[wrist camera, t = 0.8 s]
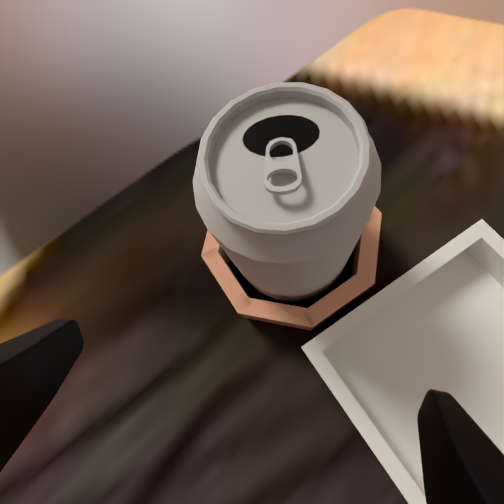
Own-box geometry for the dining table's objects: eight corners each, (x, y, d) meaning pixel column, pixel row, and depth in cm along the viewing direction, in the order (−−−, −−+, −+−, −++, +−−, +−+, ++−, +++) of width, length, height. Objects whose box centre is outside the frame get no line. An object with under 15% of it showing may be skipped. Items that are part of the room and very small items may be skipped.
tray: (635, 415, 17) (702, 428, 14) (447, 560, 17) (477, 603, 14) (457, 236, 21) (481, 218, 18) (301, 347, 21) (301, 347, 18)
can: (340, 196, 23) (378, 49, 12) (351, 300, 21) (411, 242, 10) (238, 205, 24) (182, 76, 13) (238, 305, 22) (171, 257, 11)
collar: (402, 265, 21) (418, 252, 18) (272, 358, 21) (267, 359, 18) (306, 158, 24) (307, 132, 22) (192, 235, 24) (178, 219, 21)
